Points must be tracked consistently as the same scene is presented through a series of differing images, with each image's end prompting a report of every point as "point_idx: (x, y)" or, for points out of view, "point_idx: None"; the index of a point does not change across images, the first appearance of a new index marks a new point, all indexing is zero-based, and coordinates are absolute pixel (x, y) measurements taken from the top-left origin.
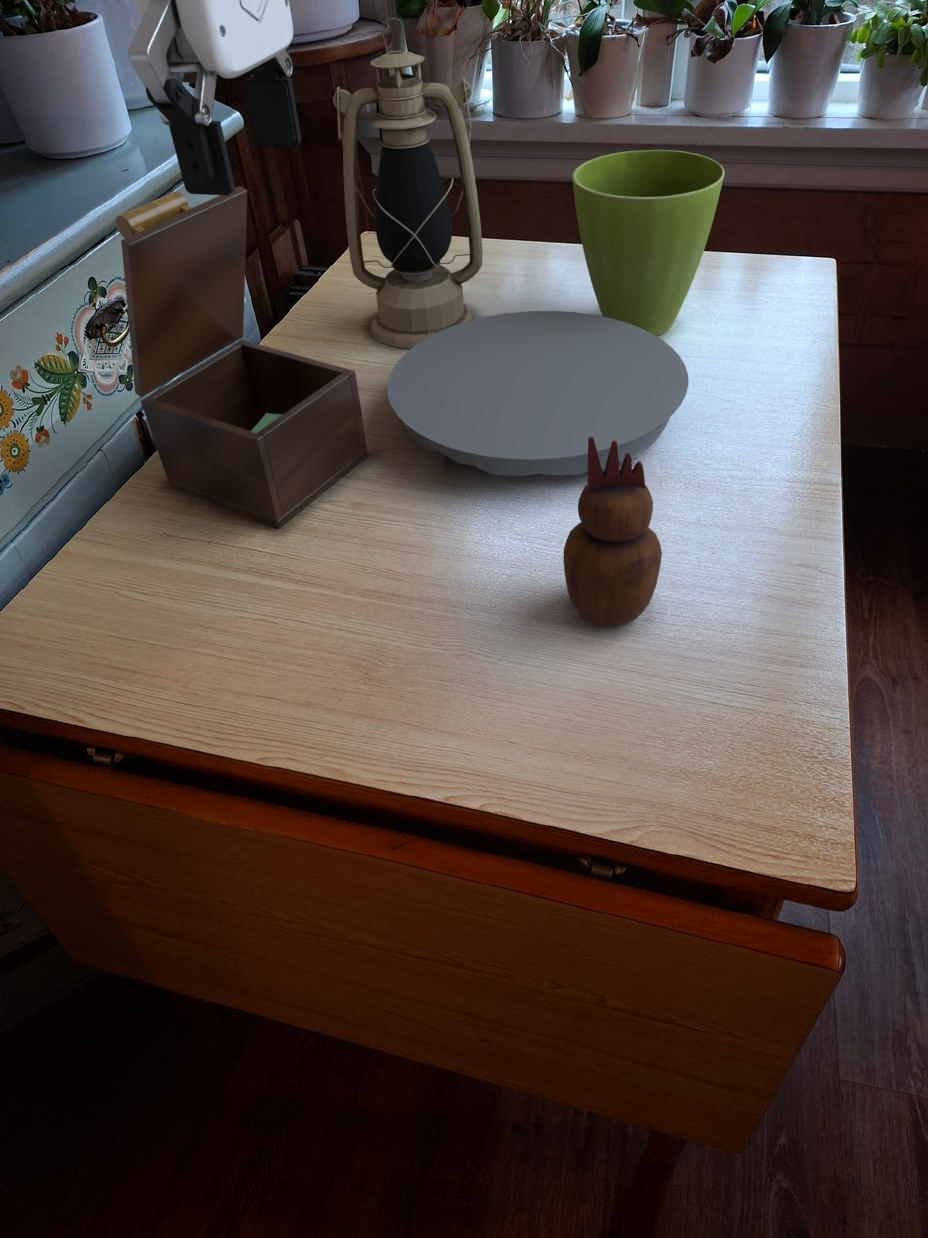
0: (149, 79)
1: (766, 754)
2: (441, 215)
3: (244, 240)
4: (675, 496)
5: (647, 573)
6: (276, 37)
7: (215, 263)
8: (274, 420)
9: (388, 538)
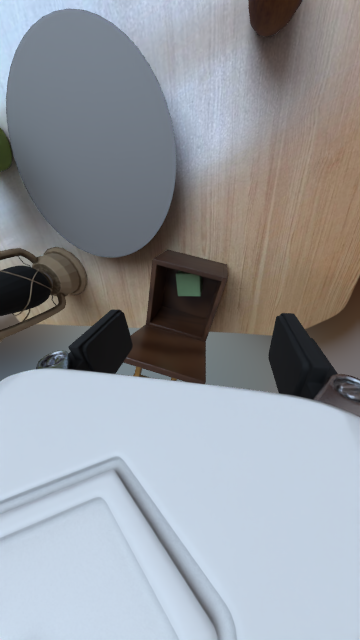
0: None
1: None
2: (8, 271)
3: None
4: (142, 8)
5: None
6: (74, 392)
7: (148, 345)
8: (182, 289)
9: (224, 207)
